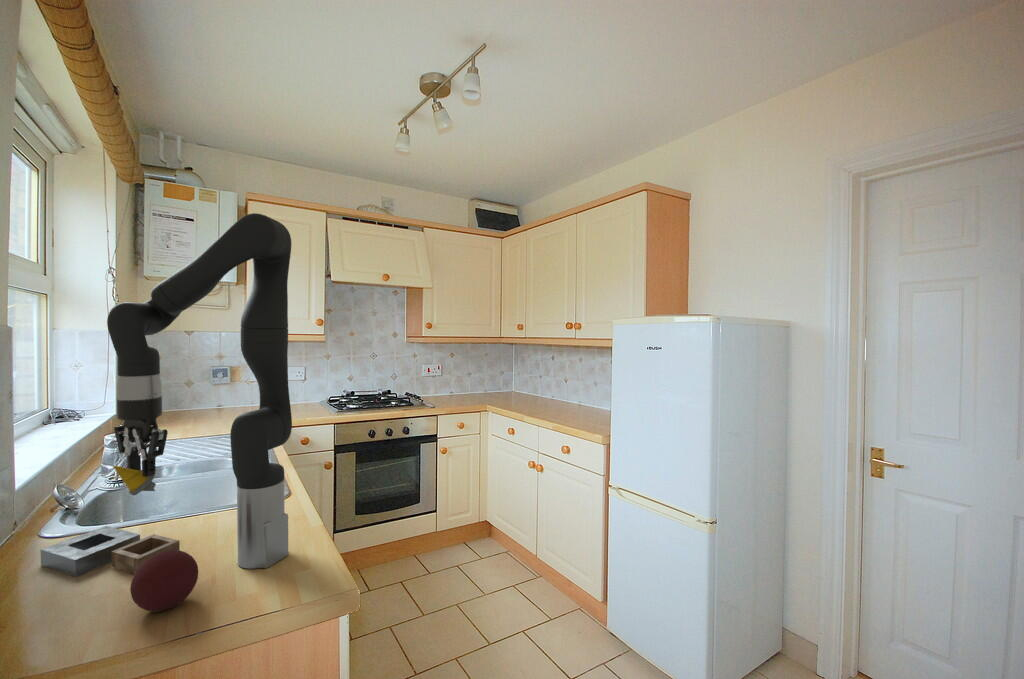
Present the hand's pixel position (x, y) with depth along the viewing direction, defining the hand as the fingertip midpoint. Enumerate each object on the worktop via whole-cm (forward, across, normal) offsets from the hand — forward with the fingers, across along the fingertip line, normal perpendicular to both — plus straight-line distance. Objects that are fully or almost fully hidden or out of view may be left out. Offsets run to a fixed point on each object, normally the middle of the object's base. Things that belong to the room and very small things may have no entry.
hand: (141, 473), depth 99 cm
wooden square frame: (+19, -1, 0) cm, 19 cm away
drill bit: (+4, 0, +1) cm, 5 cm away
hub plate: (+19, +12, +3) cm, 23 cm away
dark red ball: (+20, -21, +9) cm, 30 cm away
